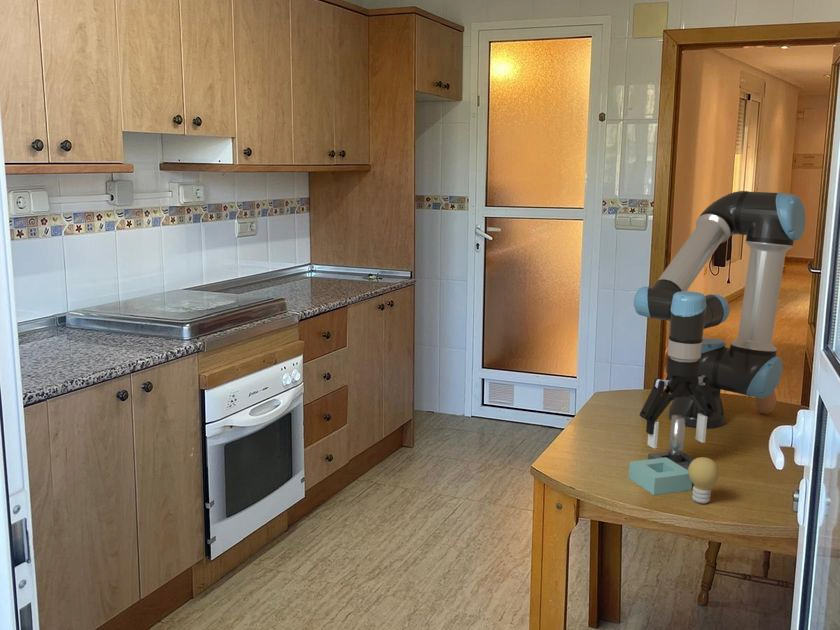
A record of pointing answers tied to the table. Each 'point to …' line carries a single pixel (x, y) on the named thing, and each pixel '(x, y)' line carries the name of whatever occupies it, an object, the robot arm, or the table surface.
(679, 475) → the socket
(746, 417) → the table surface
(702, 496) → the light bulb
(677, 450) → the pin
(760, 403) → the egg
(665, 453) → the mount
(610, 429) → the table surface
